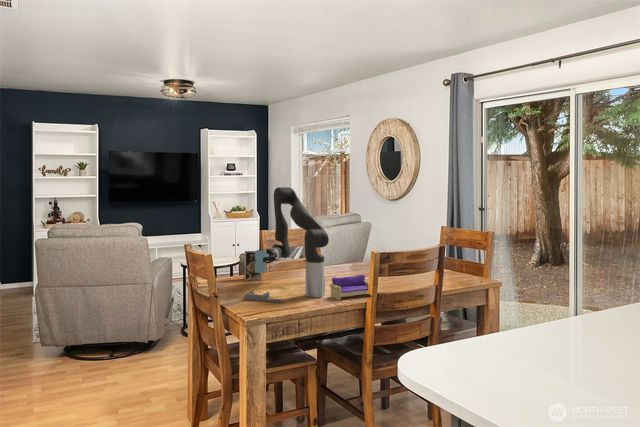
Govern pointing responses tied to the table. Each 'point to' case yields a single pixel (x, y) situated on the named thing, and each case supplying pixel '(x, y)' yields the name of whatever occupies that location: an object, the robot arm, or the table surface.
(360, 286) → the toy sofa
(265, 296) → the rail bay
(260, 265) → the block
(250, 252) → the coffee box
